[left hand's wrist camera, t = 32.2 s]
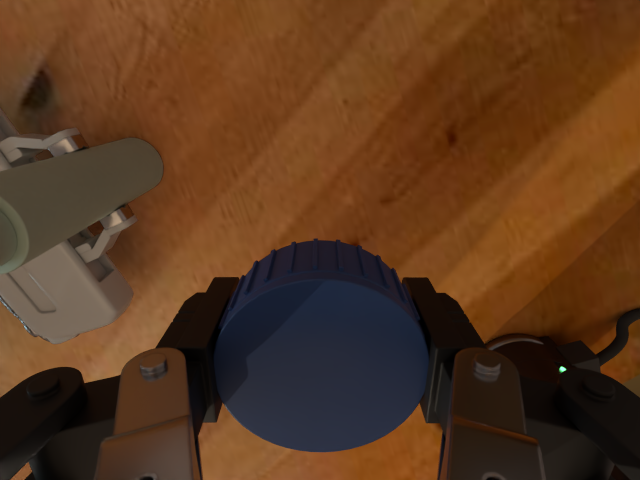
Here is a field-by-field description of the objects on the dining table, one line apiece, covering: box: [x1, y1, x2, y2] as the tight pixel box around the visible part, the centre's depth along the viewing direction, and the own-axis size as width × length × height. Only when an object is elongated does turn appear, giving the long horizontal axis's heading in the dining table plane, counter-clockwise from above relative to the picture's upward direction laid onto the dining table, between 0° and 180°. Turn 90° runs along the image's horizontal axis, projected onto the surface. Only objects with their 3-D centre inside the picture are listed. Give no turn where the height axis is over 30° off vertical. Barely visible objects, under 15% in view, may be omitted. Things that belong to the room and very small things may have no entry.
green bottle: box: [0, 138, 163, 274], centre depth 25 cm, size 5×5×19 cm
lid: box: [213, 239, 429, 452], centre depth 10 cm, size 5×5×2 cm
